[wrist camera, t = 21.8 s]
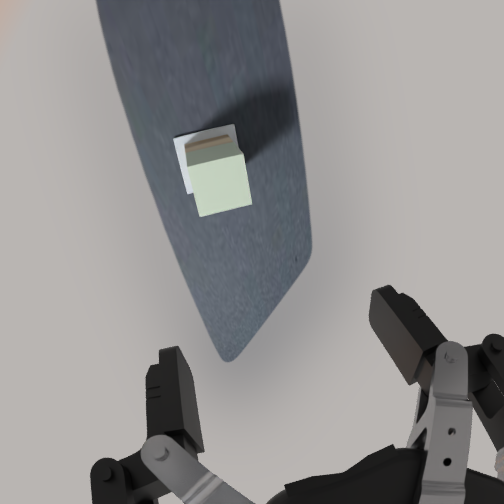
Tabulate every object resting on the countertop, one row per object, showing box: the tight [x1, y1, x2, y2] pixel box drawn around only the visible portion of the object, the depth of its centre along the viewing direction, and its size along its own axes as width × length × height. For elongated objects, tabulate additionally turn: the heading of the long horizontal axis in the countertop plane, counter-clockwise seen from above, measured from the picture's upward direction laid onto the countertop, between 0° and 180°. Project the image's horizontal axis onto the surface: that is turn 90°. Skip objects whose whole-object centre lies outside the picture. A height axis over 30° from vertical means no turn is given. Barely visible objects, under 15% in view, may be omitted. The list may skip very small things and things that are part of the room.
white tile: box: [173, 124, 239, 194], centre depth 36 cm, size 7×7×1 cm
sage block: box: [186, 142, 252, 217], centre depth 30 cm, size 5×5×5 cm
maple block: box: [184, 134, 233, 155], centre depth 34 cm, size 5×5×4 cm
